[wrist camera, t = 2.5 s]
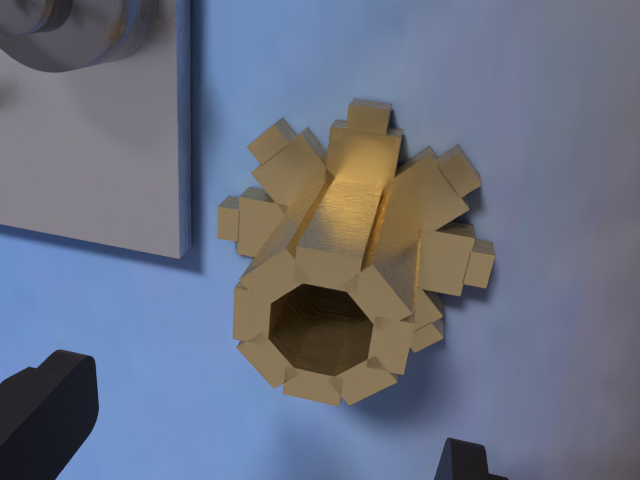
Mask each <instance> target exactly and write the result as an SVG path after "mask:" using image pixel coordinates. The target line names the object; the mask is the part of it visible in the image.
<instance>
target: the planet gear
mask: <svg viewBox="0 0 640 480" xmlns="http://www.w3.org/2000/svg"><path fill="white" fill-rule="evenodd" d="M391 108H392V104H389V103H382V102H376V101H369V100H362V99H355V98H354V99H353V100H352V101H351V103H350V104H349V109H348V117H347V121H344V120H337V119H336V121H335V122H334V123H333V124H332V126H331V127H330V136H329V145H328V152H327V151H326V149H325V148H324V147H323V145H322V144H321V143H320V142H319V140H318V139H317V138H316V136H315V135H314V134H313V133H312V131H311V130H310V129H309V127H307V128H306V129H304V130H303V131H302V132H301V133H299V134H298V135H297V134H296V133H295V132H294V131H293V129H292V128H291V127H290V125H289V124H288V123H287V122H286V120H285V119H284V118H282V119H280V120H279V121H278V122H277V123H275V124H274V125H273V126H272V127H270V128H269V129H268V130H267V131H266V132H264V133H263V134H262V135H261V136H259V137H258V138H257V139H256V140H255V141H253V142H252V143H251V144H250V145H248V146H247V148H248V149H249V150H250V151H251V153H252V154H253V155H254V156H255V157H256V159H257V160H258V161H259V162H260V165H259V166H258V167H257V168H256V169H255V170H254V171H253V172H252V173H251V174H252V175H253V176H254V177H255V178H256V180H257V181H258V182H259V183H260V185H261V186H262V187H263V188H264V189H265V190H264V189H258V188H253V187H248V188H247V189H246V190H245V191H244V193H243V194H242V195H241V196H240V197H239V198H237V197H232V196H228V197H227V198H226V199H225V200H224V201H223V202H222V203H221V204H220V205H219V206H218V232H217V238H219V239H224V240H230V241H235V242H237V254H240V255H245V256H250V257H255V258H254V259H253V261H252V262H251V263H250V265H249V266H248V268H247V269H246V271H245V272H244V273H243V275H242V276H241V278H240V279H239V280H240V281H239V282H238V284H237V285H236V287H235V290H234V317H233V339H236V340H240V342H239V344H238V345H237V347H236V348H237V349H238V350H239V351H240V352H241V353H242V354H243V356H244V357H245V358H246V359H247V360H248V361H249V362H250V363H251V364H252V365H253V367H254V368H255V369H256V370H257V371H258V372H259V373H260V374H261V375H262V376H263V378H264V379H265V380H266V381H267V382H268V383H269V384H270V385H271V386H272V387H273V388H276V387H278V386H280V385H282V384H284V387H283V394H285V395H290V396H294V397H299V398H303V399H308V400H312V401H317V402H321V403H325V404H330V405H334V406H339V405H340V401H341V397H342V398H343V399H344V400H345V401H346V402H347V404H348V405H349V406H350V405H352V404H354V403H356V402H358V401H360V400H362V399H364V398H366V397H368V396H370V395H372V394H374V393H377V392H379V391H381V390H383V389H385V388H387V387H389V386H391V385H393V384H395V383H397V382H398V374H401V375H404V371H405V366H406V362H407V357H408V352H409V348H411V349H412V350H413V352H414V353H416V352H418V351H420V350H422V349H424V348H426V347H427V346H429V345H431V344H433V343H435V342H437V341H439V340H441V339H443V338H444V323H443V321H442V319H441V318H442V317H443V300H442V299H441V298H440V296H439V295H438V294H437V293H436V292H440V293H445V294H450V295H455V296H461V292H462V288H463V284H465V285H471V286H476V287H481V288H486V287H487V284H488V280H489V276H490V273H491V269H492V266H493V262H494V259H495V252H494V247H493V243H492V242H489V241H483V240H477V239H475V234H474V227H473V225H468V224H462V223H456V222H451V221H452V220H453V219H455V218H457V217H458V216H460V215H462V214H463V213H465V212H467V211H468V210H470V209H469V202H468V198H467V196H466V194H468V193H470V192H471V191H473V190H474V189H476V188H478V187H479V186H481V185H482V182H481V177H480V174H479V172H478V171H477V169H476V168H475V167H474V165H473V164H472V162H471V161H470V160H469V158H468V157H467V155H466V154H465V152H464V151H463V150H462V148H461V147H460V145H459V144H458V145H456V146H455V147H453V148H452V149H450V150H449V151H447V152H446V153H444V154H443V155H441V156H440V157H438V156H437V155H436V153H435V152H434V150H433V149H432V148H431V146H428V147H427V148H425V149H424V150H422V151H421V152H419V153H418V154H417V155H415V156H414V157H412V158H411V159H409V160H408V161H406V162H405V163H403V164H402V165H400V166H399V167H398V168H397V164H398V158H399V152H400V146H401V141H402V135H403V129H397V128H391V127H389V121H390V115H391Z"/></svg>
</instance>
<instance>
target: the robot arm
mask: <svg viewBox="0 0 640 480" xmlns="http://www.w3.org/2000/svg"><path fill="white" fill-rule="evenodd" d="M98 411H99V402H98V389H97V377H96V365H95V360H94V358H93V357H92V356H88V355H84V354H79V353H75V352H70V351H66V350H56V351H55V352H53V353H52V354H51V355H50V356H49V357H48V358H47V359H46V360H45V361H44V362H43V363H42V364H41V365H40V366H39V367H38V368H33V367H28V368H26V369H24V370H22V371H20V372H18V373H16V374H14V375H13V376H11V377H9V378H7V379H5V380H4V381H3V382H2V383H0V480H55V479H56V478H57V476H58V475H59V474H60V473H61V471H62V470H63V469H64V467H65V466H66V465H67V463H68V462H69V461H70V459H71V458H72V457H73V456H74V454H75V453H76V452H77V450H78V449H79V448H80V446H81V445H82V444H83V442H84V441H85V440H86V439H87V437H88V436H89V434H90V433H91V431H92V430H93V427H94V425H95V423H96V420H97V416H98ZM434 480H508V478H506V477H502V476H497V475H493V474H489V472H488V465H487V457H486V450H485V447H484V446H483V445H480V444H475V443H471V442H466V441H462V440H458V439H453V438H447V440H446V442H445V445H444V448H443V452H442V455H441V458H440V462H439V465H438V468H437V471H436V475H435V478H434Z"/></svg>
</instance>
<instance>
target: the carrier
mask: <svg viewBox="0 0 640 480" xmlns="http://www.w3.org/2000/svg"><path fill="white" fill-rule="evenodd" d="M0 224H2V225H7V226H13V227H18V228H23V229H28V230H33V231H38V232H43V233H49V234H54V235H59V236H64V237H69V238H74V239H79V240H85V241H90V242H95V243H100V244H105V245H110V246H115V247H121V248H126V249H131V250H136V251H141V252H146V253H151V254H157V255H162V256H167V257H172V258H177V259H180V258H181V257H182V256H183V255H184V254H185V253H186V252H187V251H188V250H189V249H190V248H191V46H190V0H0Z"/></svg>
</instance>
